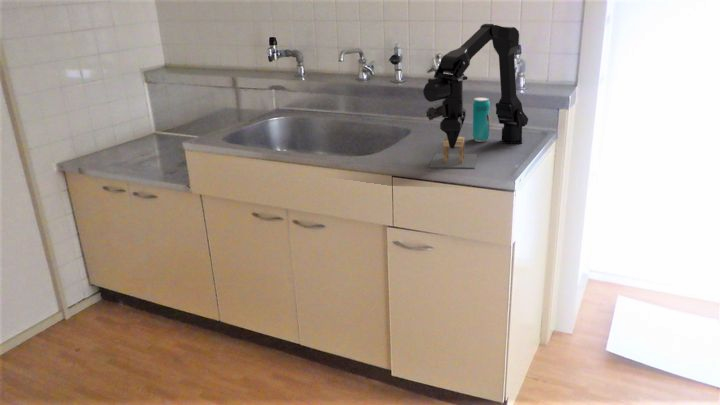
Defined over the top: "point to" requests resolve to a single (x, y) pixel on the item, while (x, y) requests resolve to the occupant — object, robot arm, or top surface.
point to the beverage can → (481, 119)
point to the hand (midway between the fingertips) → (453, 144)
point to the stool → (458, 144)
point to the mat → (454, 161)
